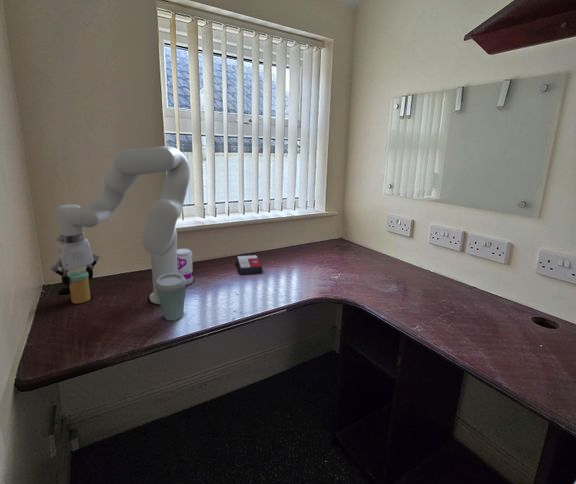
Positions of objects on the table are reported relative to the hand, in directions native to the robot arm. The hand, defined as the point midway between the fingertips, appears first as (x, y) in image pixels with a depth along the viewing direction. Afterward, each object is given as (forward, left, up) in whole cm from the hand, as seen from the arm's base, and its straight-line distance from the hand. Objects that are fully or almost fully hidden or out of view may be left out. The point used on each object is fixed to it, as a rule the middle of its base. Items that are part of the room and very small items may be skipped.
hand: (78, 281), depth 122 cm
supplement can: (-12, -37, -8) cm, 40 cm away
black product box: (-18, -70, -8) cm, 73 cm away
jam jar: (0, 0, -8) cm, 8 cm away
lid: (0, 0, +3) cm, 3 cm away
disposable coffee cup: (-35, -20, -8) cm, 41 cm away
